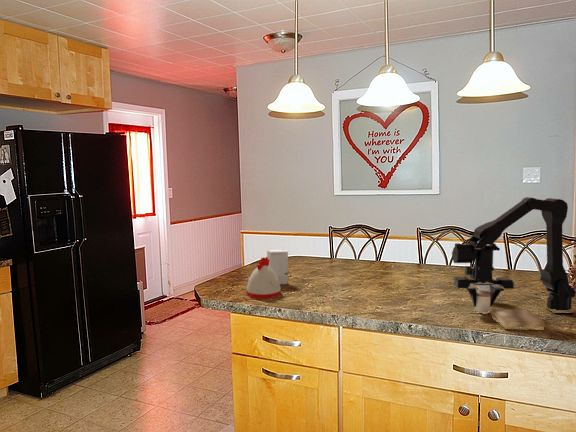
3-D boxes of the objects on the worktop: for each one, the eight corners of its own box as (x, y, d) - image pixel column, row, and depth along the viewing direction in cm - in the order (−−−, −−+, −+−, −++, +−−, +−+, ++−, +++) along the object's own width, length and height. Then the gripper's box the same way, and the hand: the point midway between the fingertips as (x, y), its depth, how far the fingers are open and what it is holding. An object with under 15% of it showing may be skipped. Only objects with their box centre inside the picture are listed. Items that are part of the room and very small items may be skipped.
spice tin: (487, 310, 166) (487, 290, 165) (492, 314, 161) (493, 294, 160) (472, 309, 166) (472, 290, 166) (477, 314, 161) (477, 294, 160)
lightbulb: (494, 300, 177) (495, 272, 176) (489, 304, 173) (490, 275, 171) (477, 297, 182) (478, 270, 180) (471, 301, 177) (472, 272, 176)
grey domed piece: (286, 292, 193) (286, 256, 191) (268, 300, 181) (268, 262, 180) (259, 287, 200) (258, 253, 198) (239, 295, 188) (239, 259, 187)
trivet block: (527, 318, 157) (528, 309, 156) (544, 330, 145) (545, 321, 144) (491, 317, 158) (491, 309, 157) (504, 330, 146) (505, 320, 145)
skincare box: (270, 285, 203) (270, 252, 201) (266, 282, 209) (266, 250, 207) (288, 284, 206) (288, 250, 204) (284, 281, 211) (283, 248, 210)
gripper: (502, 258, 169) (501, 300, 171) (450, 258, 170) (449, 299, 172) (515, 264, 158) (513, 309, 160) (458, 264, 159) (457, 308, 161)
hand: (482, 306), depth 163 cm, fingers closed on spice tin, 5 cm apart
